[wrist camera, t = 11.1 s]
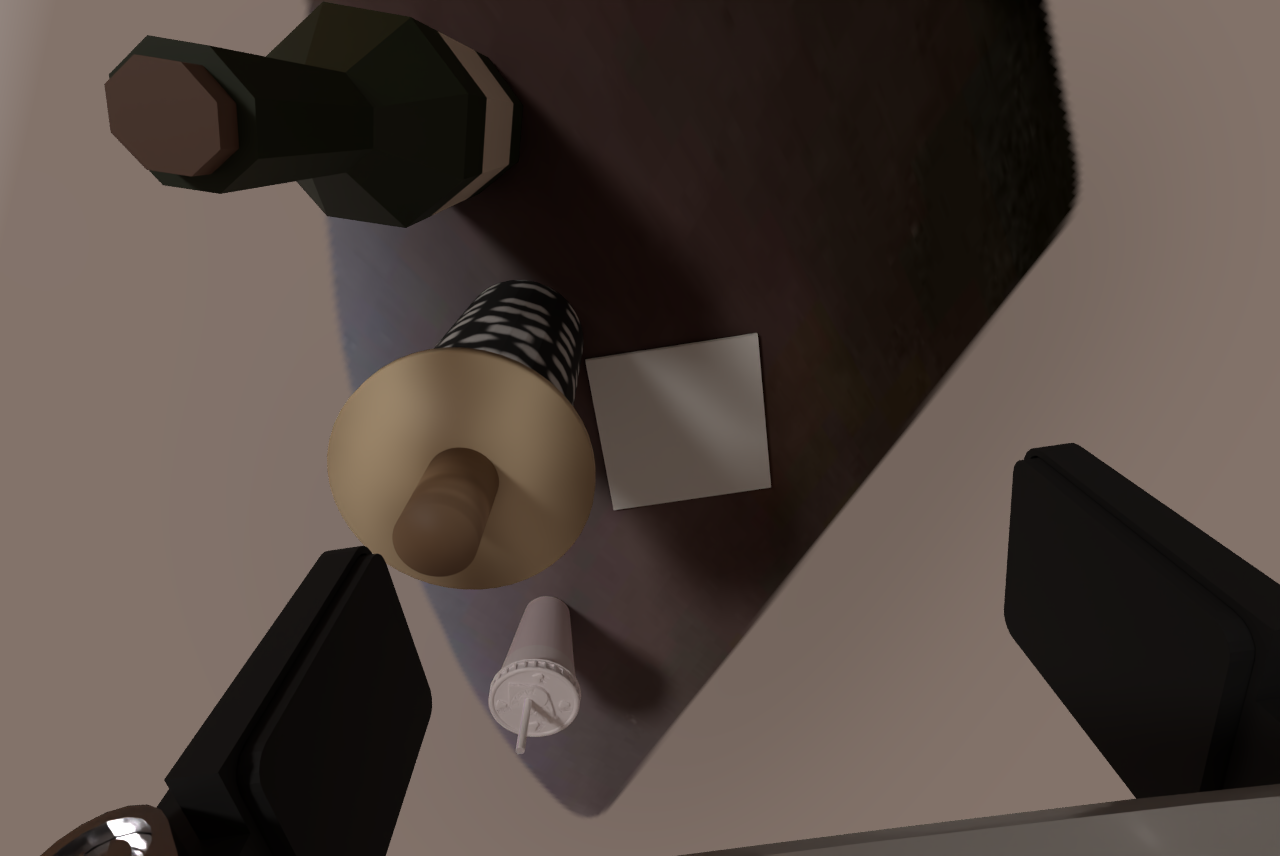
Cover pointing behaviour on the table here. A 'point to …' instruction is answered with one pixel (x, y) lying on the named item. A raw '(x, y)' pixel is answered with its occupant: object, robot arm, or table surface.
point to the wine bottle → (323, 115)
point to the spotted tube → (524, 330)
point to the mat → (681, 421)
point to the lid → (462, 468)
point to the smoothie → (538, 674)
